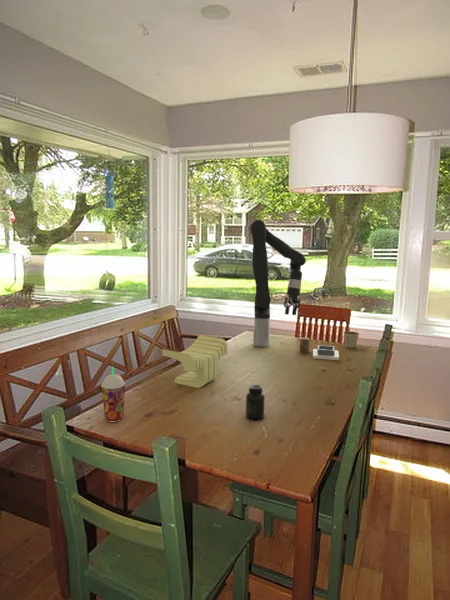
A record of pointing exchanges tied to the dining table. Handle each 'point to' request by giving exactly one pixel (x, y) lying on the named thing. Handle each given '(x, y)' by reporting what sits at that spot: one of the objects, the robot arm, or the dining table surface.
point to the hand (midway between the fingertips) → (290, 314)
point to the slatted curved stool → (199, 360)
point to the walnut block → (304, 345)
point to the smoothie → (113, 396)
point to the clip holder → (325, 353)
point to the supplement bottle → (255, 403)
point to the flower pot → (351, 339)
